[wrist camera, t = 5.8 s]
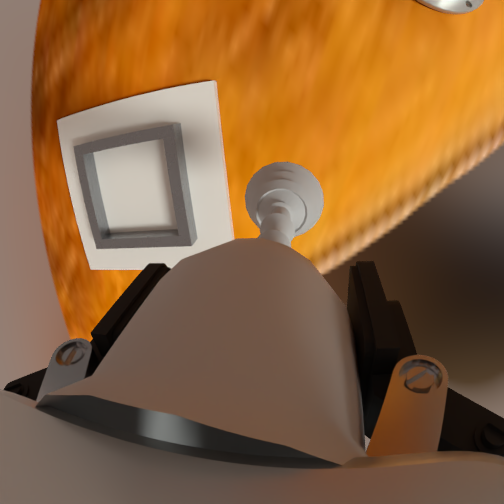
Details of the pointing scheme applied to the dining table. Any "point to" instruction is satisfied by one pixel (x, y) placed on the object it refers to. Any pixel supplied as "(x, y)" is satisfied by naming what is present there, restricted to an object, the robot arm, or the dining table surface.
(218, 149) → the board
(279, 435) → the chalice
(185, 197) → the collar
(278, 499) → the robot arm
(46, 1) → the dining table surface
